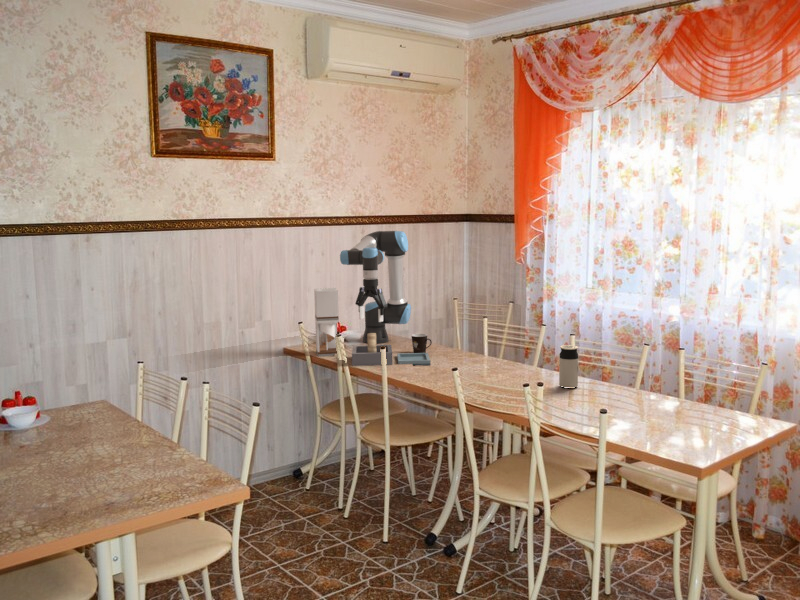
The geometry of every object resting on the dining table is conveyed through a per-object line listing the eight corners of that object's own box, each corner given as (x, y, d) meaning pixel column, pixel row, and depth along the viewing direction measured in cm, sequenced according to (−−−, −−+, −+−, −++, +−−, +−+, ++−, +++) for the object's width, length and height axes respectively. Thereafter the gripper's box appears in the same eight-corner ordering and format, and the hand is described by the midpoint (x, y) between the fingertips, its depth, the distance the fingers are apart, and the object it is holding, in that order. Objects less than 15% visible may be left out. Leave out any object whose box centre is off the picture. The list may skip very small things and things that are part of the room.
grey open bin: (353, 358, 394) (352, 345, 393) (391, 357, 394) (391, 344, 393) (352, 367, 374) (351, 353, 373) (392, 366, 375) (392, 352, 374)
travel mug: (557, 388, 329) (557, 347, 326) (561, 384, 336) (561, 344, 334) (575, 390, 326) (576, 349, 323) (579, 385, 333) (580, 345, 330)
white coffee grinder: (318, 356, 401) (316, 291, 396) (316, 352, 411) (314, 288, 406) (339, 355, 403) (337, 290, 398) (337, 351, 413) (335, 288, 408)
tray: (397, 358, 394) (397, 353, 393) (427, 357, 394) (427, 352, 394) (398, 366, 376) (398, 361, 375) (430, 365, 376) (430, 360, 376)
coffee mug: (408, 352, 406) (408, 334, 405) (423, 351, 410) (422, 333, 409) (418, 356, 396) (418, 338, 395) (433, 355, 400) (432, 336, 398)
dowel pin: (367, 359, 386) (367, 333, 384) (376, 359, 386) (376, 332, 384) (367, 361, 382) (367, 334, 380) (376, 361, 382) (376, 334, 380)
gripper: (348, 277, 384) (348, 318, 387) (383, 280, 367) (383, 323, 370) (358, 276, 389) (359, 316, 392) (393, 279, 372) (394, 321, 375)
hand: (371, 320), depth 381 cm, fingers open, 13 cm apart
